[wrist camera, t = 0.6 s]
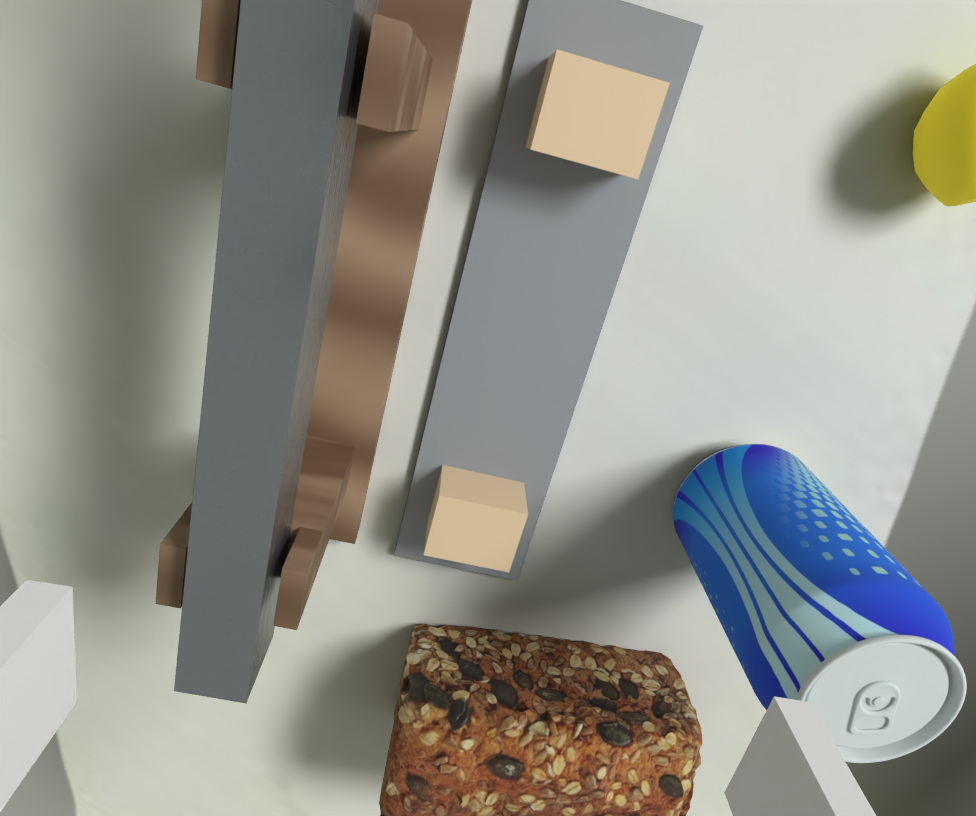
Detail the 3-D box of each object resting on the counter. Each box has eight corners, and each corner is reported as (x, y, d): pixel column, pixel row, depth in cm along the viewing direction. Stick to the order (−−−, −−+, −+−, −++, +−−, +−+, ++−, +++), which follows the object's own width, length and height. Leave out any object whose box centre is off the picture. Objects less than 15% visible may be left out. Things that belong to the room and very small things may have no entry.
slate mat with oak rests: (534, -24, 30) (542, -45, 26) (700, 27, 31) (730, 14, 27) (395, 550, 42) (386, 591, 38) (516, 575, 43) (520, 617, 39)
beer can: (638, 506, 41) (729, 719, 26) (738, 407, 38) (900, 582, 24) (732, 574, 43) (865, 807, 28) (833, 485, 41) (1035, 689, 26)
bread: (388, 721, 48) (367, 862, 39) (411, 605, 44) (394, 732, 35) (635, 754, 50) (671, 897, 40) (679, 645, 46) (730, 777, 36)
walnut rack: (298, -69, 29) (173, -205, 17) (475, -16, 30) (474, -108, 18) (229, 503, 40) (124, 662, 28) (358, 529, 41) (310, 694, 29)
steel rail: (299, -133, 20) (259, -190, 16) (396, -102, 20) (378, -152, 17) (209, 624, 31) (174, 690, 28) (272, 636, 32) (246, 703, 28)
